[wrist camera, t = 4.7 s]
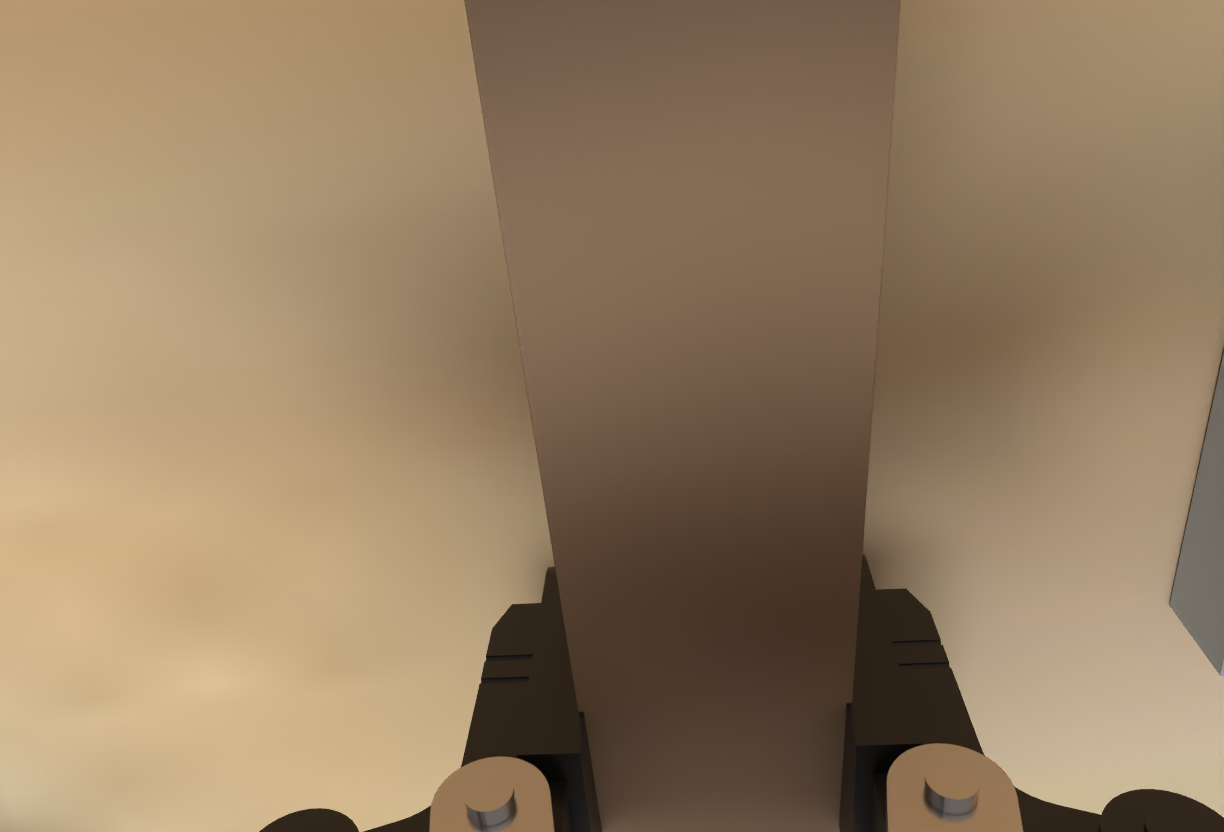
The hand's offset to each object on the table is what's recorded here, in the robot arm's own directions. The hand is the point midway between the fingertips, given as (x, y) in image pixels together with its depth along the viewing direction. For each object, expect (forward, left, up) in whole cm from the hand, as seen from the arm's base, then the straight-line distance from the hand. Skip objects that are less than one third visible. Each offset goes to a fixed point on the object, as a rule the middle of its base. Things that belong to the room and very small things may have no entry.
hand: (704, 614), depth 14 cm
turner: (0, 0, -1) cm, 1 cm away
